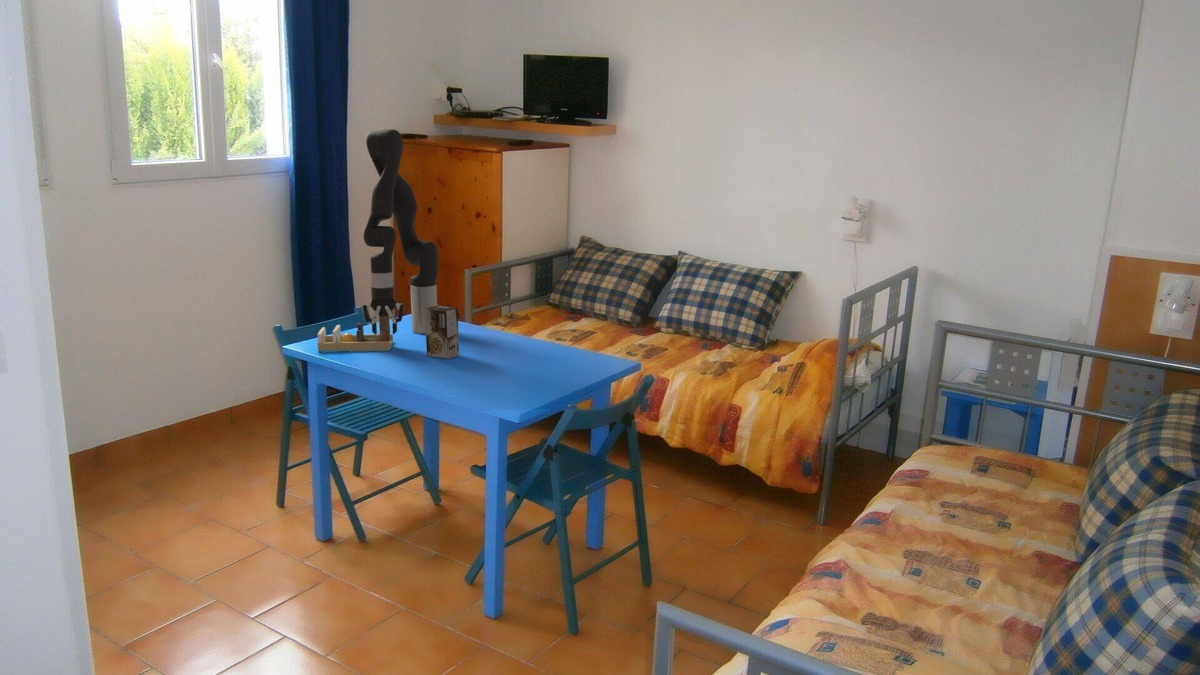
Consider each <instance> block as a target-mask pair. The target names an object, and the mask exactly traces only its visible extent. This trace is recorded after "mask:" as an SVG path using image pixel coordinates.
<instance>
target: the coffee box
mask: <svg viewBox="0 0 1200 675" xmlns="http://www.w3.org/2000/svg"><path fill="white" fill-rule="evenodd" d="M425 328H426V333H425V341H426V342H425V344H426V346H425V347H426V356H427V357H433V358H440V359H447V360H450V359H452V358H455V357H458V356H460V347H459V318H458V307H455V306H448V305H447V306H444V305H438V304H437V305H435V306H432V307H429V308H426V309H425Z"/></svg>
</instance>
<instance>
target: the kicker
mask: <svg viewBox="0 0 1200 675" xmlns="http://www.w3.org/2000/svg"><path fill="white" fill-rule="evenodd" d="M355 326H356V328H357V330H356V332H355V333H356V335H357V342H376V341H390V334H391V328H390V327H391V326H390V317H389V315H384V314H383V315H378V326H379V334H380V338H373V339H364V335H365V334H364V324H363V323H362V322H357V323H356V325H355Z"/></svg>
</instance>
